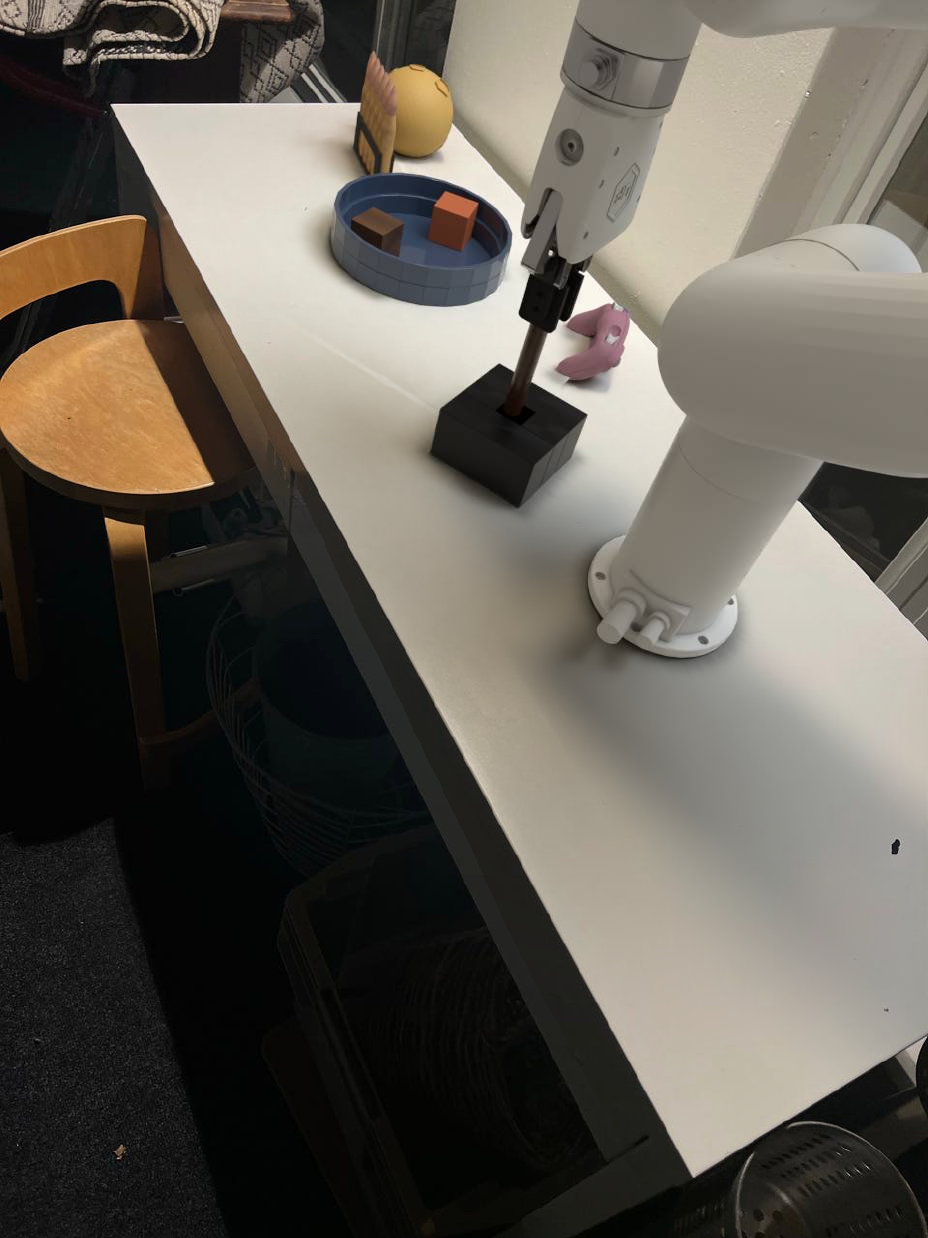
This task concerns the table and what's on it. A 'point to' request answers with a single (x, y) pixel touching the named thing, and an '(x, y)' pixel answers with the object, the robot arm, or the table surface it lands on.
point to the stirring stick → (525, 367)
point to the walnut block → (379, 230)
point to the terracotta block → (452, 221)
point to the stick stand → (506, 436)
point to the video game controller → (597, 341)
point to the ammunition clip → (376, 120)
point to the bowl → (420, 242)
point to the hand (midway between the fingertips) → (544, 316)
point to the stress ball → (420, 111)
